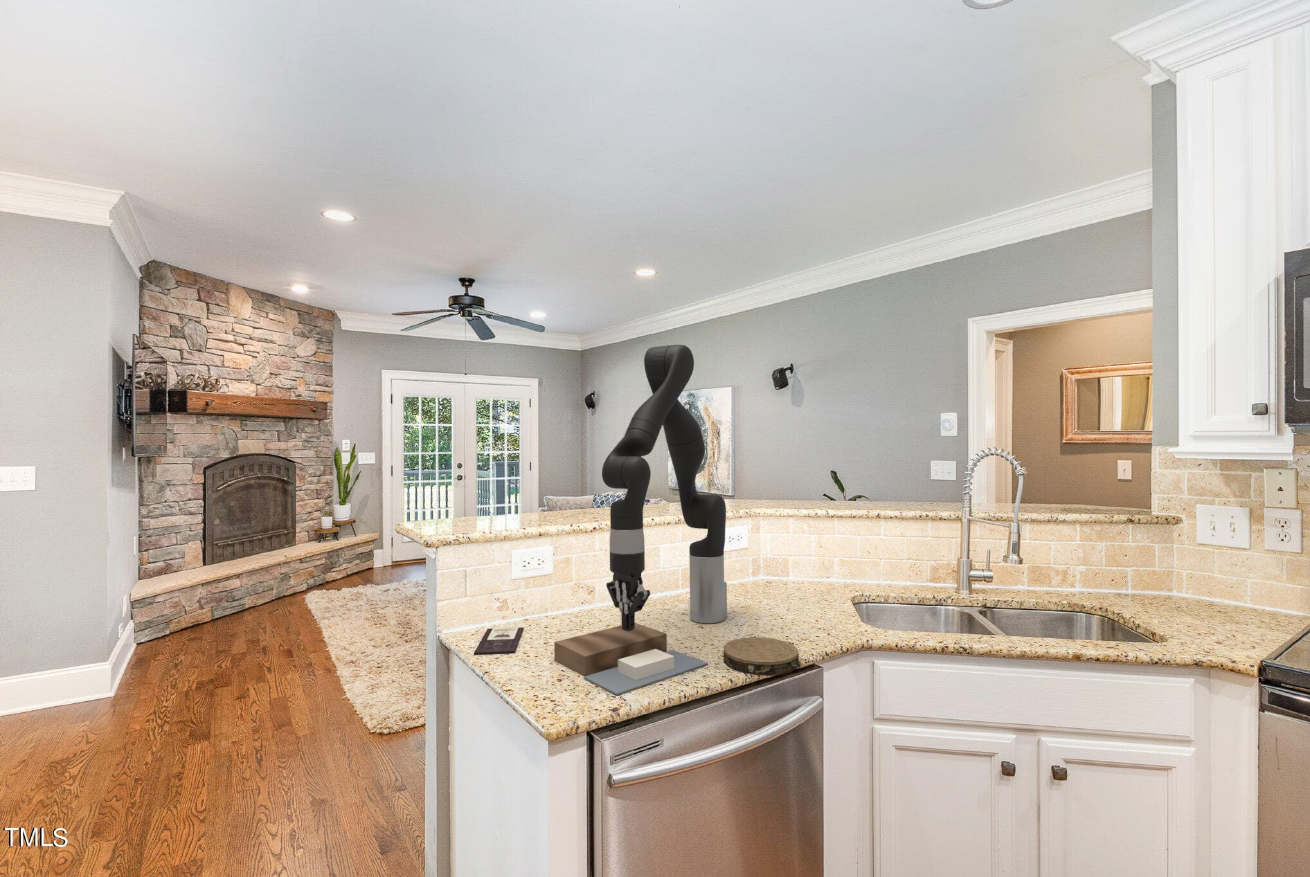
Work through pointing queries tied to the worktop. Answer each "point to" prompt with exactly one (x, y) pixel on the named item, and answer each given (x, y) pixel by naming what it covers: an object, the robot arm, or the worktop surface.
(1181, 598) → the worktop surface
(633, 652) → the board
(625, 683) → the mat
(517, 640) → the chocolate bar
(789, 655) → the brown round disc
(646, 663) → the tile
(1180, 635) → the worktop surface
